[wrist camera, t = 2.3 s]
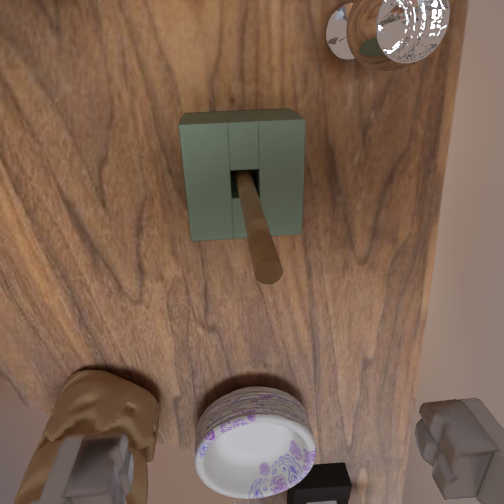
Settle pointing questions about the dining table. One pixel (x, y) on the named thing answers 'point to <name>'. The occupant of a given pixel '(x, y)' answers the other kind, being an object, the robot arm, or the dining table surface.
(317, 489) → the lamp
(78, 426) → the container
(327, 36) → the wineglass
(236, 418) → the paper bowls
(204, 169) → the stick stand
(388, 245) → the dining table surface
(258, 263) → the stirring stick
